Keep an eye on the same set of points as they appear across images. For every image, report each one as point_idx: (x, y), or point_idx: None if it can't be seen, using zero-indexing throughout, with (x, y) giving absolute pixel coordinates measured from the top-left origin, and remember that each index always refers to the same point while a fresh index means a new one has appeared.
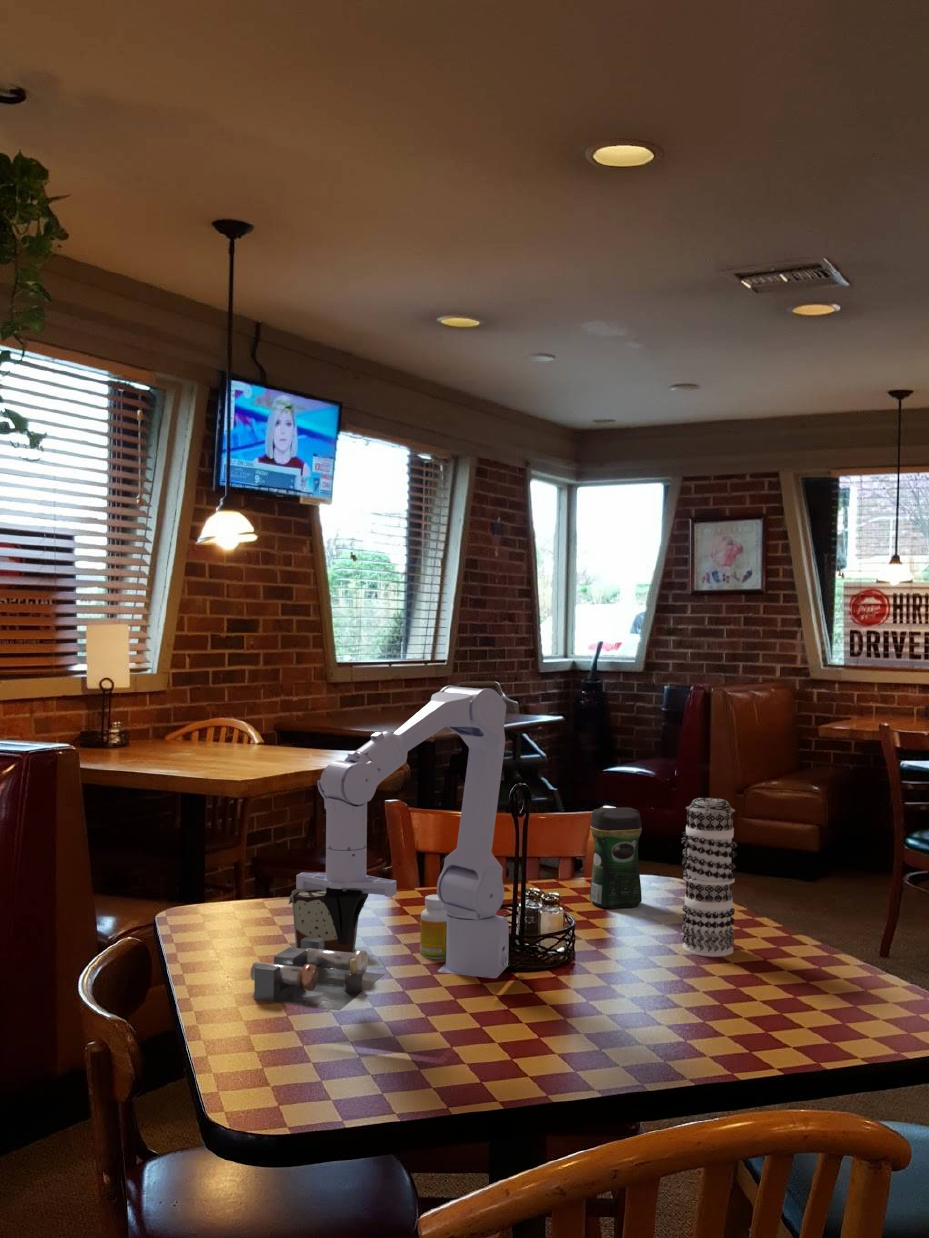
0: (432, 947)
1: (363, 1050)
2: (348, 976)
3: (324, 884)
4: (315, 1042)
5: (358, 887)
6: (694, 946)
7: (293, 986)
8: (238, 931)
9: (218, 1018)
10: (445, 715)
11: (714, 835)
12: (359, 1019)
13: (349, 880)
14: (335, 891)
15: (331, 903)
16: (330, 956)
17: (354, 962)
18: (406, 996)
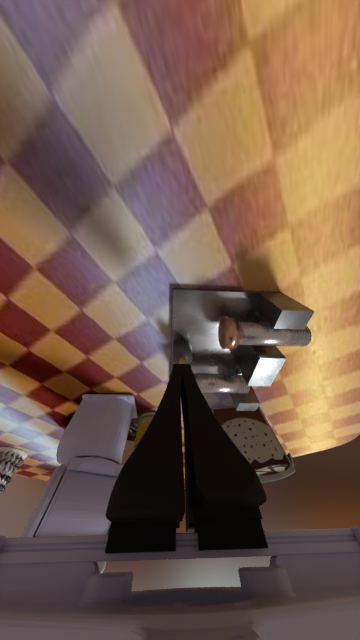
0: (149, 423)
1: (68, 141)
2: (185, 351)
3: (297, 623)
4: (159, 157)
5: (65, 627)
6: (5, 453)
7: None
8: (307, 423)
9: (327, 223)
10: None
11: None
12: (143, 279)
13: None
14: (222, 531)
15: (218, 463)
16: (218, 383)
17: None
18: (131, 351)
